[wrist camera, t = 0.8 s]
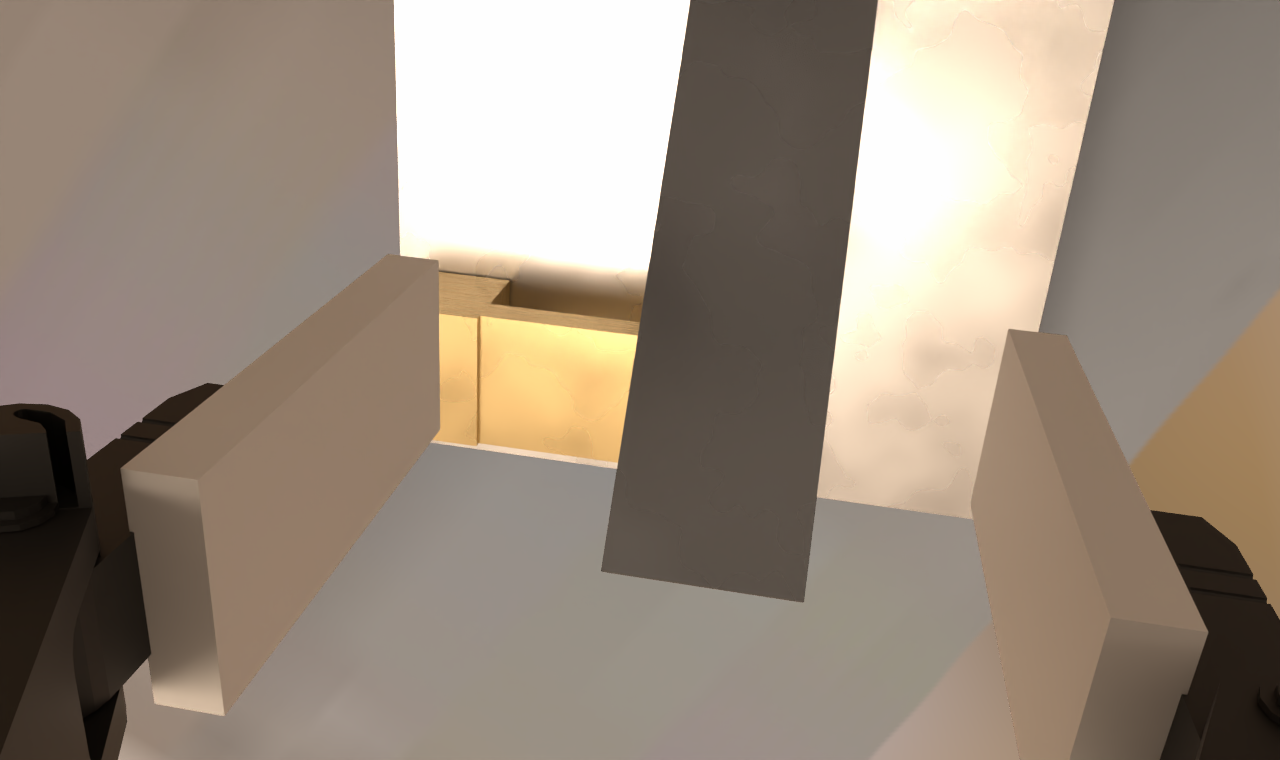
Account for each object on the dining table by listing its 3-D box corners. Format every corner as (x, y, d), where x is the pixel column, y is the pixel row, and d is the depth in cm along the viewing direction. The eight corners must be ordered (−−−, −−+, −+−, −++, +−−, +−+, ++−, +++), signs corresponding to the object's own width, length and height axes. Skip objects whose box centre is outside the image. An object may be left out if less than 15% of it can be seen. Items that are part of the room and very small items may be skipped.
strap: (743, -290, 27) (742, -351, 25) (910, -281, 27) (921, -343, 25) (610, 573, 24) (598, 570, 22) (800, 602, 23) (804, 602, 21)
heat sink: (466, -306, 34) (342, -368, 25) (1122, -272, 31) (1218, -327, 23) (465, 362, 43) (375, 476, 35) (973, 429, 40) (1005, 568, 32)
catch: (415, 269, 34) (373, 305, 31) (672, 300, 33) (655, 340, 30) (417, 387, 36) (378, 432, 33) (663, 420, 35) (645, 470, 32)
